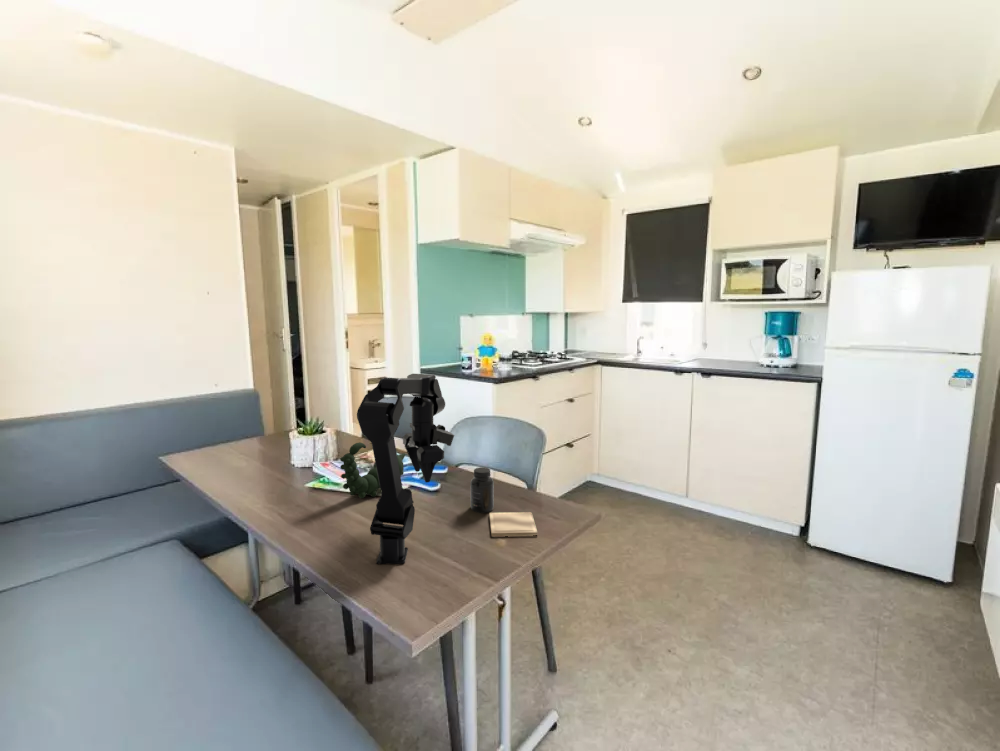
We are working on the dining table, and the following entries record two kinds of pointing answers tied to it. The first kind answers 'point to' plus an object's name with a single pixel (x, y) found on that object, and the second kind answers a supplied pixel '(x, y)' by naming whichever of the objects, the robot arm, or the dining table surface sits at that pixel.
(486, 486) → the supplement bottle
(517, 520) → the coaster
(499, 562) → the dining table surface
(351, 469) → the toy figurine
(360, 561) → the dining table surface
